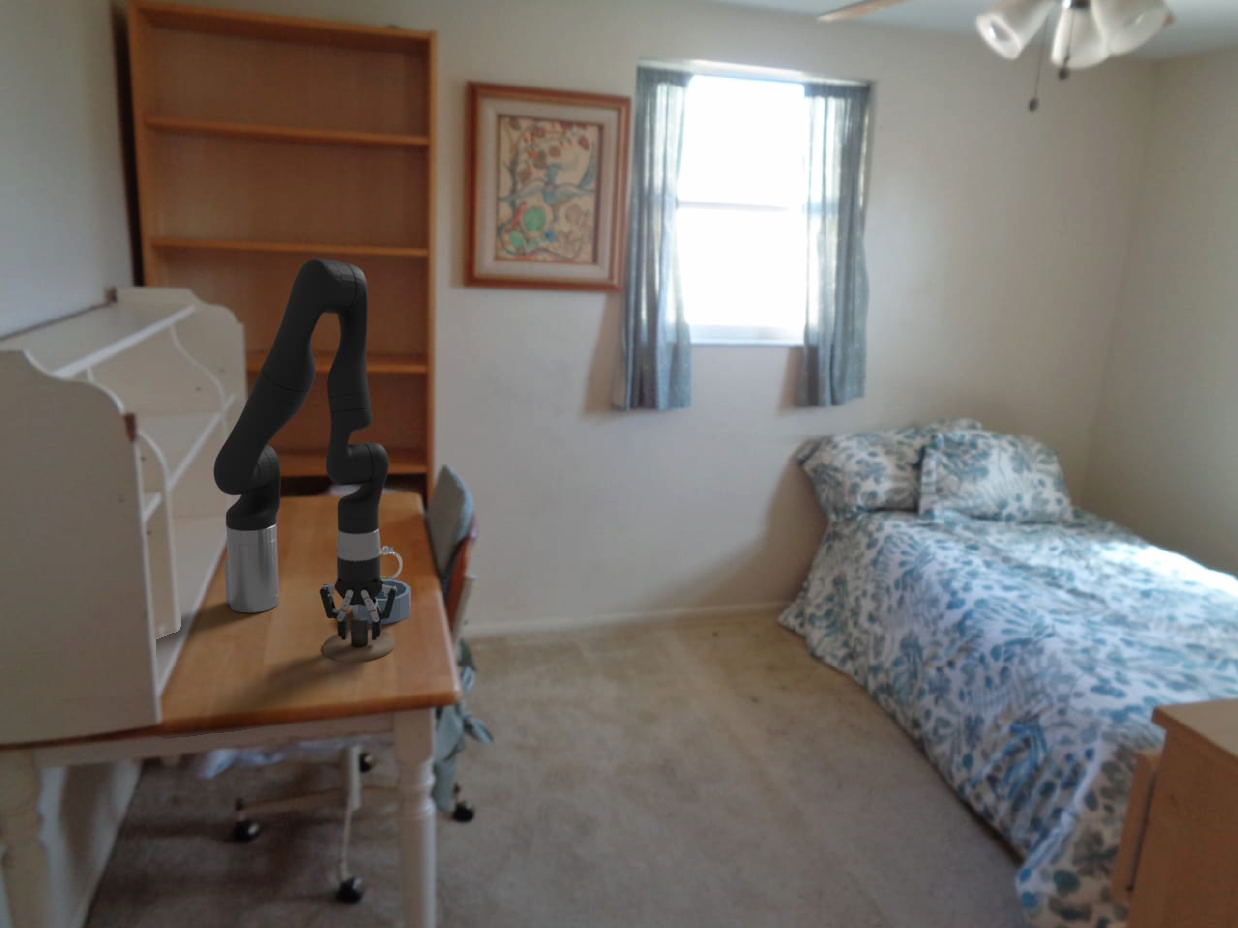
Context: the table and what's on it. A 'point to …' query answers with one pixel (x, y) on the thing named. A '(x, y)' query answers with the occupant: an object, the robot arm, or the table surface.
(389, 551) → the ring
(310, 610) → the table surface
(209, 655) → the table surface
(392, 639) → the lid
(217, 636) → the table surface
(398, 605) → the bowl
